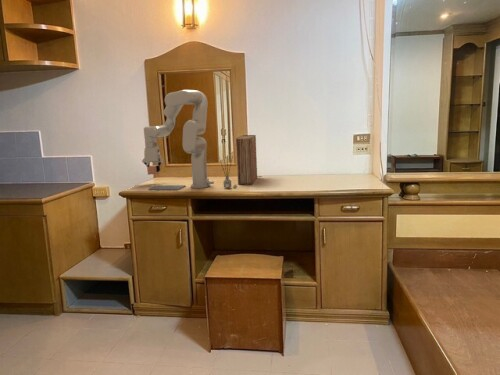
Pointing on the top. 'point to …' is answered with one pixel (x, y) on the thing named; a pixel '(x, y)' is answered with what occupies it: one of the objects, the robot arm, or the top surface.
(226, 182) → the reed diffuser
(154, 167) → the card box
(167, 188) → the mat
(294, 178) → the top surface
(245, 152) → the brown wooden block
